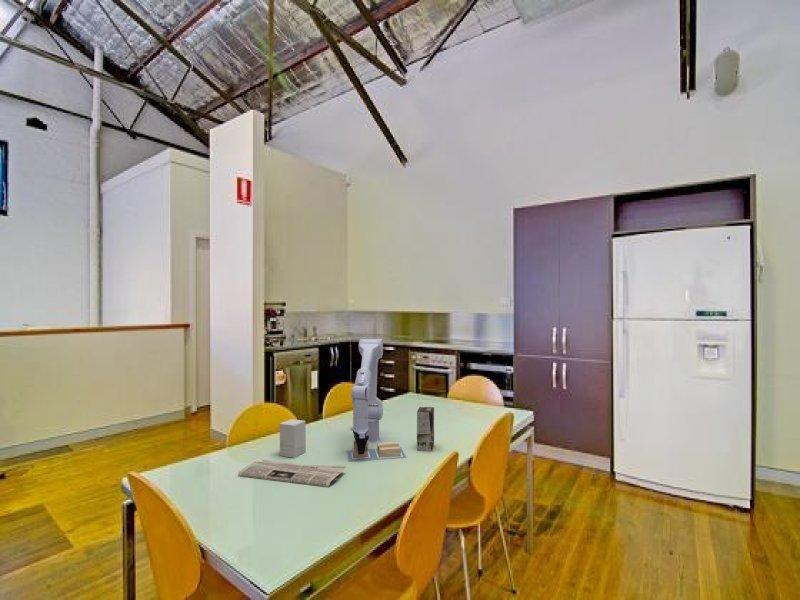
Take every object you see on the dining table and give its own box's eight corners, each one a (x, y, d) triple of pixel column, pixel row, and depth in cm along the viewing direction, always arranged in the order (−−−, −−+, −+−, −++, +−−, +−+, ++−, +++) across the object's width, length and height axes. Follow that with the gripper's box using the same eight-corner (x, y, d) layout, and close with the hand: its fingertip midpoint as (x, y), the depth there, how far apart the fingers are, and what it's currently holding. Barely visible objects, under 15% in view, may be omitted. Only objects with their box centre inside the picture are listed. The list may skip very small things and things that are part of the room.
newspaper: (238, 477, 141) (238, 467, 141) (259, 464, 153) (259, 454, 153) (333, 489, 132) (333, 478, 132) (348, 474, 144) (348, 464, 144)
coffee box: (432, 453, 163) (432, 412, 164) (416, 452, 164) (416, 411, 165) (434, 445, 172) (434, 406, 173) (419, 444, 173) (419, 406, 174)
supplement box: (306, 452, 164) (306, 420, 165) (294, 458, 158) (294, 425, 158) (291, 449, 168) (291, 418, 168) (279, 455, 161) (279, 423, 161)
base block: (377, 450, 165) (377, 442, 165) (396, 449, 166) (396, 441, 166) (379, 457, 157) (379, 449, 157) (400, 456, 158) (400, 448, 158)
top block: (353, 453, 162) (353, 440, 162) (366, 452, 162) (366, 439, 163) (354, 457, 157) (354, 444, 157) (367, 457, 158) (367, 443, 158)
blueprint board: (346, 452, 165) (346, 450, 165) (400, 448, 169) (400, 447, 169) (348, 463, 153) (348, 461, 153) (406, 459, 157) (406, 457, 157)
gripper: (349, 412, 166) (349, 445, 166) (351, 421, 152) (351, 458, 152) (366, 411, 168) (366, 444, 167) (370, 420, 153) (370, 457, 153)
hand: (360, 451), depth 160 cm, fingers closed on top block, 5 cm apart
